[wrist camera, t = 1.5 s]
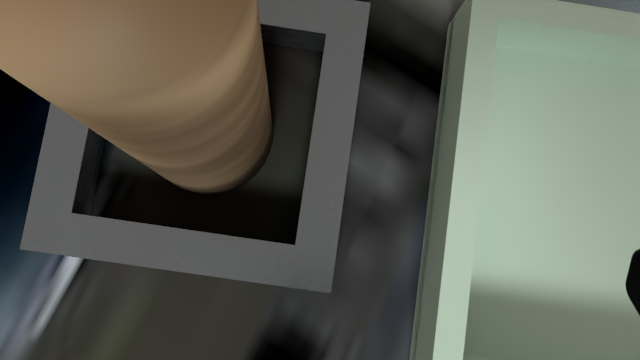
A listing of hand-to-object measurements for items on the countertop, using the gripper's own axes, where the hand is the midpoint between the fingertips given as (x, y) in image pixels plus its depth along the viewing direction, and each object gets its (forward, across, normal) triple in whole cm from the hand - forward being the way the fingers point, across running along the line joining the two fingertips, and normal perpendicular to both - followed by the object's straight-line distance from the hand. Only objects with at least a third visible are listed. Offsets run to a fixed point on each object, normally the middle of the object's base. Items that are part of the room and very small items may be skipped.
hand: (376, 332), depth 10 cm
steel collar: (+15, +3, +4) cm, 16 cm away
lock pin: (+15, +3, +4) cm, 16 cm away
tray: (+10, -12, +9) cm, 18 cm away
